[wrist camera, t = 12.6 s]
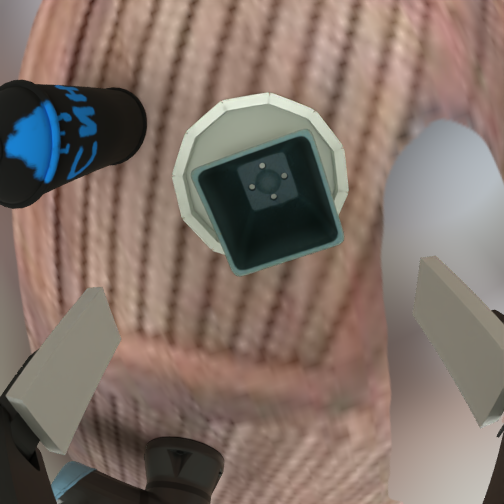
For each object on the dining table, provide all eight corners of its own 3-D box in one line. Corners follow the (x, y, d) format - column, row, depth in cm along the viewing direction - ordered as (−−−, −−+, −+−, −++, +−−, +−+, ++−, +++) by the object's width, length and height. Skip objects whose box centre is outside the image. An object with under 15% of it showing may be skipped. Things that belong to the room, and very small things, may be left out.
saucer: (250, 280, 36) (250, 290, 34) (148, 170, 31) (141, 174, 29) (370, 191, 31) (377, 196, 29) (271, 64, 27) (272, 60, 25)
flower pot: (241, 237, 33) (235, 280, 25) (207, 155, 30) (187, 171, 21) (324, 208, 31) (346, 242, 23) (295, 123, 28) (310, 126, 20)
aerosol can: (83, 170, 31) (-55, 239, 13) (74, 97, 28) (-76, 110, 9) (151, 158, 31) (26, 224, 12) (143, 80, 27) (5, 55, 9)
